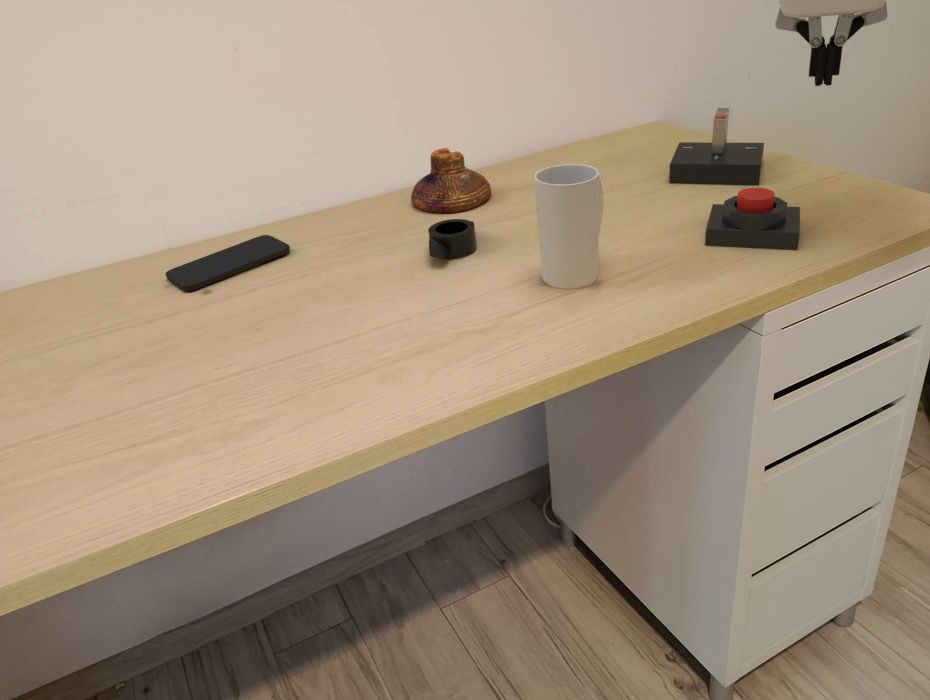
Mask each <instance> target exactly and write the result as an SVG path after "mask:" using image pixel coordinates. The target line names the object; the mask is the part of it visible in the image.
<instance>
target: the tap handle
mask: <svg viewBox="0 0 930 700" xmlns="http://www.w3.org/2000/svg"><path fill="white" fill-rule="evenodd" d="M729 117H730V107H717V110H716V112H715V115H714V118H713V123H712V124H713V126H712V138H711V139H712V140H711V143H712V152H711V154H716V155H723V153H724V149H725V146H726V143H728V142H727V141H728V130H729V119H730V118H729Z"/></svg>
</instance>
